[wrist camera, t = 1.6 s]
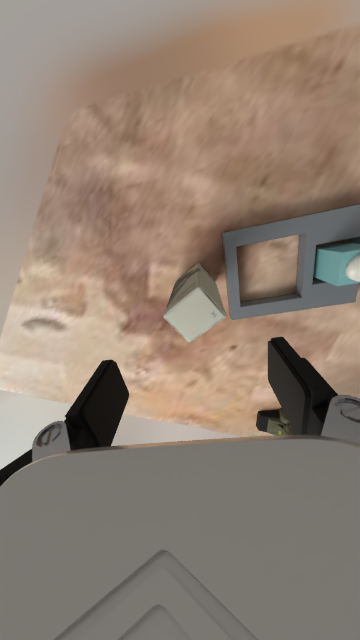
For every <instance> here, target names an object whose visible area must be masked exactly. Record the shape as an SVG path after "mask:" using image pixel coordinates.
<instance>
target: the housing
mask: <svg viewBox="0 0 360 640" xmlns="http://www.w3.org/2000/svg"><path fill="white" fill-rule="evenodd" d="M297 234H299V245H298V262H297V278H296V294H290V295H284V296H277V297H271V298H264V299H258V300H252V301H245V302H240V294H239V279H238V264H237V250H236V247H237V246H242V245H247V244H252V243H257V242H262V241H267V240H272V239H277V238H282V237H287V236H292V235H297ZM349 238H350V243H356V244H360V204H356V205H352V206H347V207H342V208H337V209H333V210H328V211H323V212H318V213H314V214H309V215H304V216H300V217H295V218H290V219H285V220H281V221H276V222H271V223H266V224H262V225H257V226H252V227H247V228H243V229H238V230H233V231H228V232H224V233H222V241H223V252H224V262H225V273H226V283H227V294H228V304H229V315H230V317H231V320H235V319H242V318H249V317H256V316H263V315H269V314H276V313H283V312H290V311H297V310H304V309H311V308H318V307H324V306H331V305H338V304H345V303H352V302H355V301H356V296H357V291H358V286H359V283H355V284H349V285H342V286H335V285H333V284H330V283H328V282H325V281H323V280H320V279H317V280H313V271H314V261H315V251H316V245H318V244H323V243H328V242H334V241H339V240H344V239H349Z"/></svg>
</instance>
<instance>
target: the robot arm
mask: <svg viewBox="0 0 360 640" xmlns="http://www.w3.org/2000/svg"><path fill="white" fill-rule="evenodd" d="M268 380H269V383H270V385H271V387H272V389H273V391H274V393H275V395H276V397H277V399H278V401H279V403H280V405H281V407H282V409H283V411H284V413H285V415H286V417H287V419H288V421H289V422H290V424H291V426H292V428H293V430H294V432H295V434H296V435H277V436H255V437H240V438H223V439H209V440H193V441H178V442H166V443H165V442H164V443H149V444H136V445H123V446H111V444H112V441H113V438H114V436H115V433H116V430H117V428H118V425H119V422H120V420H121V417H122V414H123V412H124V409H125V406H126V403H127V401H128V398H129V392H128V389H127V387H126V385H125V382H124V380H123V378H122V375H121V373H120V370H119V368H118V366H117V363H116V362H115V361H113V360H105V361H102V362H101V364H100V365H99V366H98V368H97V369H96V371H95V372H94V374H93V375H92V377H91V378H90V380H89V381H88V383H87V384H86V386H85V387H84V389H83V390H82V392H81V393H80V395H79V396H78V398H77V399H76V401H75V402H74V404H73V405H72V406H71V408H70V409H69V411H68V412H67V414H66V415H65V417H66V420H65V421H64V422H63V421H57V422H53V423H51V424H49V425H48V426H46V427H45V428H44V429H43V430H41V431H40V432H39V434H38V435H37V436H36V437H35V439H34V441H33V447H32V449H31V450H29V451H28V452H26V453H25V454H23V455H22V456H21V457H19V458H18V459H16V460H14V461H13V462H11V463H10V464H8V465H7V466H6V467H4V468H3V469H1V470H0V640H360V399H359V398H356V397H353V396H348V395H339V396H338V394H337V393H336V392H335V391H334V390H333V389H332V388H331V386H330V385H329V384H328V383H327V382H326V381H325V380H324V379H323V377H322V376H321V375H320V374H319V373H318V372H317V371H316V370H315V368H314V367H313V366H312V365H311V364H310V363H309V362H308V360H306V359H305V358H301V357H300V356H299V355H298V354H297V353H296V352H295V350H294V349H293V348H292V347H291V346H290V345H289V343H288V342H287V341H286V340H285V339H284V338H283V337H276V338H272V339H271V341H268Z"/></svg>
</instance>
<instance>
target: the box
mask: <svg viewBox="0 0 360 640" xmlns="http://www.w3.org/2000/svg"><path fill="white" fill-rule="evenodd" d="M225 317H226V313H225V310H224V307H223V304H222V301H221V298H220V295H219V292H218V289H217V285H216V283H215V281H214V280H213V279H212V277H211V276H210V275H209V274H208V273H207V271H206V270H205V269H204V268H203V267H202V266H201V265H200V264H199V263H197V264H196V265H194V266H193V267H192V268H191V269H190V270H188V271H187V272H186V273H185V274H184V275H183V276H182V277H181V278H180V279H179V280H178V281H176V283H175V285H174V288H173V291H172V293H171V296H170V299H169V302H168V305H167V308H166V311H165V313H164V318H165V319H166V320H167V321H168V322H169V323H170V324H171V325H172V326H173V327H174V328H175V329H176V330H177V331H178V332H179V333H180V334H181V335H182V336H183V337H184V338H185V339H186V340H187V341H188V342H191V341H193V340H194V339H196V338H197V337H199V336H200V335H202V334H203V333H205V332H206V331H208V330H209V329H210V328H212V327H213V326H214V325H216V324H217V323H218V322H220V321H221V320H222V319H224V318H225Z"/></svg>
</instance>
